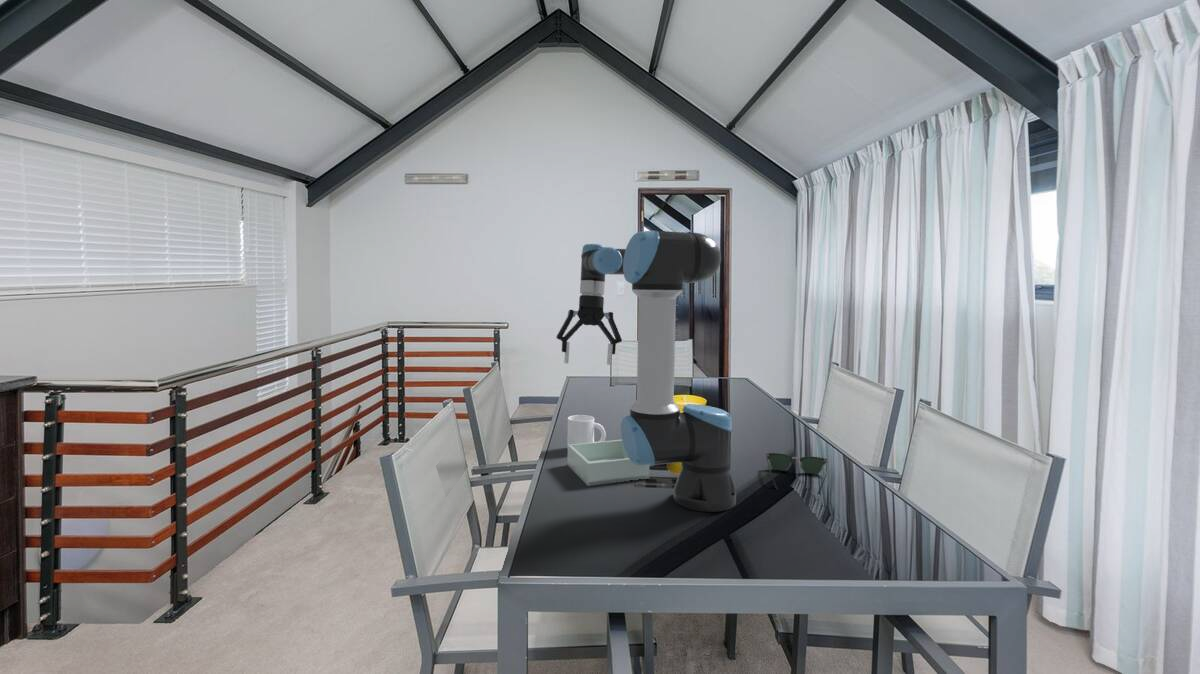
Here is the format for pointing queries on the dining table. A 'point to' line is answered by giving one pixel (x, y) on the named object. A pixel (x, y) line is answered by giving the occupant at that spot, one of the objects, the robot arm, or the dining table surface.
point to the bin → (604, 463)
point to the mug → (583, 429)
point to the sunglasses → (807, 463)
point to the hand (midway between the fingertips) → (587, 364)
